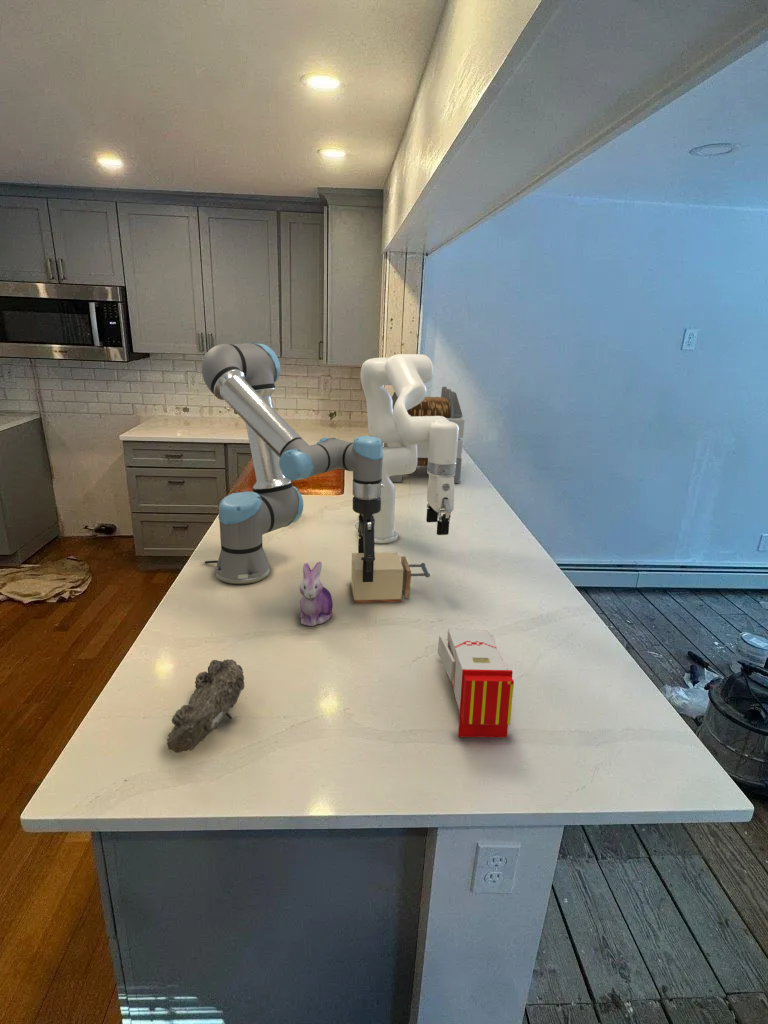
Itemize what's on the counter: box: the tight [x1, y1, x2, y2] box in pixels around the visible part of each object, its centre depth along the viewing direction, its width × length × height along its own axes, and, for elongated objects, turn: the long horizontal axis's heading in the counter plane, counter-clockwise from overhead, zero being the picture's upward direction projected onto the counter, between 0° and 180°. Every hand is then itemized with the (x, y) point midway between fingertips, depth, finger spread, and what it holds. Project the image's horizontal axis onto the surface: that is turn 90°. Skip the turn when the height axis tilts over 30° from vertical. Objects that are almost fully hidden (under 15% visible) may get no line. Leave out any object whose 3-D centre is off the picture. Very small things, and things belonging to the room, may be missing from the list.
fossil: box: [166, 658, 245, 754], centre depth 106 cm, size 22×10×15 cm
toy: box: [437, 628, 515, 738], centre depth 117 cm, size 12×13×30 cm
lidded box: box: [350, 551, 403, 604], centre depth 156 cm, size 13×11×10 cm
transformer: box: [383, 386, 465, 484], centre depth 268 cm, size 34×33×41 cm
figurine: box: [299, 561, 334, 627], centre depth 141 cm, size 9×10×15 cm
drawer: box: [400, 555, 431, 599], centre depth 157 cm, size 17×10×8 cm, turn 97°
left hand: (365, 570), depth 155 cm, fingers open, 13 cm apart
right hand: (436, 528), depth 157 cm, fingers open, 9 cm apart
